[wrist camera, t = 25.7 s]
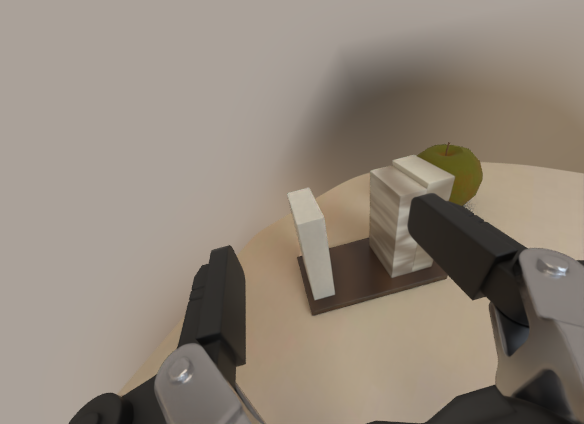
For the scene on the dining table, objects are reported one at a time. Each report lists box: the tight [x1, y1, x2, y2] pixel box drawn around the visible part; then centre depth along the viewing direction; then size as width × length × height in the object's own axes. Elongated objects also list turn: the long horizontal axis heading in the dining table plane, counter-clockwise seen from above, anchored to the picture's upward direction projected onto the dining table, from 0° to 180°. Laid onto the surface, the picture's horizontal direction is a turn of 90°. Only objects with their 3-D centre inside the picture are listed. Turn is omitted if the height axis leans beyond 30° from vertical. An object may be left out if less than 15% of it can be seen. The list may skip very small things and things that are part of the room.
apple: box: [417, 143, 483, 206], centre depth 34 cm, size 10×10×11 cm
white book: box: [287, 188, 335, 300], centre depth 25 cm, size 3×6×12 cm, turn 10°
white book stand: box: [297, 155, 455, 315], centre depth 26 cm, size 17×9×13 cm, turn 100°
